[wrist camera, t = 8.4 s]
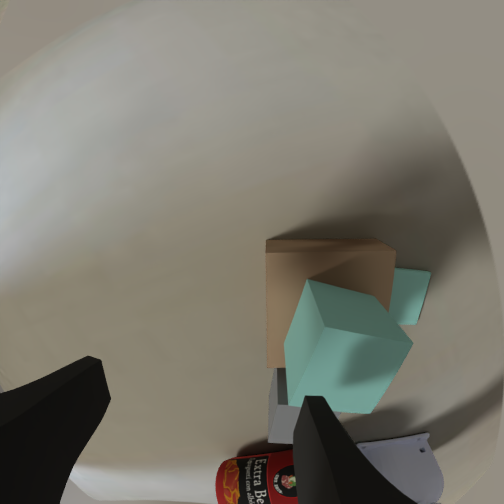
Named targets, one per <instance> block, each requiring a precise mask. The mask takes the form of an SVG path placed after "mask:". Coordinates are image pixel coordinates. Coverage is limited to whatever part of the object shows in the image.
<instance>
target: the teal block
mask: <svg viewBox="0 0 504 504" xmlns="http://www.w3.org/2000/svg"><path fill="white" fill-rule="evenodd" d="M412 345H413V342H412V341H411V340H410V338H409V337H408V336H407V335H406V333H405V332H404V331H403V330H402V329H401V327H400V326H399V325H398V324H397V322H396V321H395V320H394V319H393V318H392V316H391V315H390V314H389V313H388V312H387V310H386V309H385V308H384V307H383V306H382V305H381V303H380V302H379V301H378V300H377V299H376V298H375V296H372V295H368V294H364V293H360V292H356V291H352V290H348V289H344V288H340V287H336V286H333V285H329V284H325V283H321V282H317V281H313V280H309V279H307V280H306V283H305V286H304V289H303V292H302V295H301V298H300V301H299V303H298V306H297V309H296V312H295V315H294V317H293V320H292V323H291V326H290V328H289V331H288V334H287V336H286V339H285V342H284V352H285V365H286V378H287V393H288V405H289V406H296V407H302V403H303V400H304V397H305V395H309V396H323V397H324V398H325V399H326V401H327V403H328V404H329V406H330V408H331V409H332V411H337V412H349V413H364V414H370V413H371V412H372V410H373V409H374V407H375V406H376V405H377V403H378V402H379V400H380V399H381V397H382V396H383V394H384V393H385V391H386V389H387V388H388V386H389V385H390V383H391V382H392V380H393V378H394V377H395V375H396V373H397V372H398V370H399V368H400V366H401V365H402V363H403V361H404V359H405V358H406V356H407V354H408V352H409V350H410V349H411V347H412Z"/></svg>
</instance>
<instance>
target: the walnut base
mask: <svg viewBox="0 0 504 504" xmlns="http://www.w3.org/2000/svg"><path fill="white" fill-rule="evenodd" d="M395 261H396V250H395V249H393V248H391V247H389V246H388V245H386V244H384V243H382V242H381V241H379V240H377V239H292V240H266V306H267V368H286V365H285V352H284V342H285V339H286V336H287V334H288V331H289V328H290V326H291V323H292V320H293V317H294V315H295V312H296V309H297V306H298V303H299V301H300V298H301V295H302V292H303V289H304V286H305V283H306V280H307V279H309V280H313V281H317V282H321V283H325V284H329V285H333V286H336V287H340V288H344V289H348V290H352V291H356V292H360V293H364V294H368V295H372V296H375V298H376V299H377V300H378V301H379V302H380V303H381V305H382V306H383V307H384V308H385V309H386V310H387V312H388V313H389V307H390V301H391V294H392V287H393V279H394V270H395Z"/></svg>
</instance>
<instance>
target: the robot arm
mask: <svg viewBox="0 0 504 504" xmlns="http://www.w3.org/2000/svg"><path fill="white" fill-rule="evenodd" d="M110 400H111V397H110V393H109V390H108V386H107V382H106V378H105V374H104V370H103V366H102V361H101V360H100V359H97V358H94V357H91V356H86V357H84V358H82V359H80V360H77V361H75V362H73V363H71V364H69V365H67V366H65V367H63V368H61V369H59V370H57V371H55V372H53V373H51V374H49V375H47V376H45V377H43V378H40V379H38V380H36V381H33V382H31V383H29V384H26V385H24V386H21V387H19V388H16V389H13V390H10V391H7V392H3V393H0V504H60V500H61V497H62V494H63V491H64V488H65V485H66V483H67V480H68V478H69V475H70V473H71V471H72V468H73V466H74V464H75V462H76V461H77V459H78V457H79V455H80V454H81V452H82V451H83V449H84V447H85V446H86V444H87V443H88V441H89V440H90V438H91V436H92V435H93V433H94V432H95V430H96V428H97V427H98V425H99V424H100V422H101V420H102V418H103V416H104V414H105V412H106V410H107V407H108V405H109V403H110ZM429 436H430V435H429V433H423V434H419V435H413V436H408V437H402V438H396V439H390V440H383V441H375V442H366V443H358V444H355V443H354V442H353V440H352V439H351V437H350V436H349V435H348V433H347V432H346V431H345V429H344V428H343V426H342V425H341V423H340V422H339V420H338V419H337V417H336V416H335V414H334V412H333V411H332V409H331V408H330V406H329V404H328V403H327V401H326V399H325V398H324V397H323V396H309V395H305V397H304V400H303V403H302V407H301V410H300V413H299V416H298V419H297V422H296V425H295V428H294V431H293V463H294V472H295V481H296V489H297V498H298V504H441V503H436V502H437V501H438V500H439V498H440V497H441V495H442V492H443V488H444V479H443V474H442V472H441V469H440V467H439V465H438V463H437V461H436V459H435V456H434V454H433V452H432V450H431V448H430V446H429V444H428V442H427V439H428V438H429Z"/></svg>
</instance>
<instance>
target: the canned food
mask: <svg viewBox="0 0 504 504" xmlns="http://www.w3.org/2000/svg"><path fill="white" fill-rule="evenodd" d="M216 497H217V501H218V504H298V498H297V489H296V481H295V472H294V463H293V449H291V450H286V451H280V452H274V453H268V454H261V455H253V456H244V457H234V458H231V459H228V460H226V461H224V462H223V463H222V464H221V465H220V467H219V469H218V472H217V476H216Z"/></svg>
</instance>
